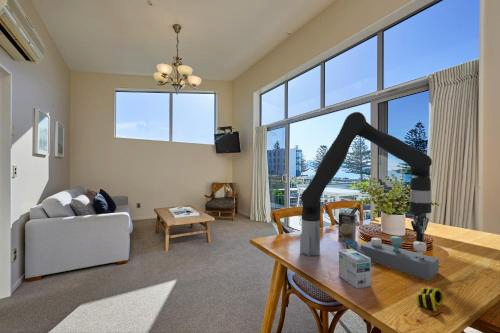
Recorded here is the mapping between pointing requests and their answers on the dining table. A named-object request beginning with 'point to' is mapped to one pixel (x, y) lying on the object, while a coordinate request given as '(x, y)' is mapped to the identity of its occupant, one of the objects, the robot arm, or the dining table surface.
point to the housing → (402, 260)
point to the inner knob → (376, 242)
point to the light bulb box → (355, 268)
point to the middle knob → (396, 243)
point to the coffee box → (347, 227)
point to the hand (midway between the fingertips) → (419, 241)
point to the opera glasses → (430, 298)
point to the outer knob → (419, 249)
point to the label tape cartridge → (353, 246)
